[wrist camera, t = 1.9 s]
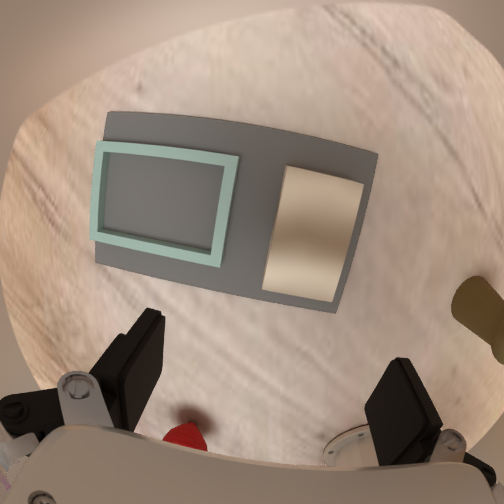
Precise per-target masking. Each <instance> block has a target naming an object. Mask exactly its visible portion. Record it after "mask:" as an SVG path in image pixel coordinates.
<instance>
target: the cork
mask: <svg viewBox="0 0 504 504" xmlns="http://www.w3.org/2000/svg"><path fill="white" fill-rule="evenodd" d="M451 308H452V314H453V317H454V318H455V319H456V320H457V321H458V322H460V323H461V324H463V325H464V326H465V327H467V328H468V329H469V330H471V331H472V332H473V333H475V334H476V335H477V336H479V337H480V338H481V339H483V340H484V341H485V342H487V343H488V344H489V345H491V349H492V353H493V355H494V357H495V358H496V359H497V361H498V362H499V363H501V364H503V365H504V300H503V299H502V298H501V297H500V296H499V294H498V293H497V292H496V291H495V290H494V289H493V288H492V287H491V286H490V285H489V283H488V282H487V281H486V280H485V279H484V278H482V277H480V276H473V277H471V278H469V279H467V280H466V281H465V282H463V283H462V284H461V286H460V287H459V288H458V290H457V291H456V293H455V295H454V297H453V301H452V305H451Z"/></svg>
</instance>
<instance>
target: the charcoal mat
mask: <svg viewBox="0 0 504 504" xmlns="http://www.w3.org/2000/svg"><path fill="white" fill-rule="evenodd" d="M103 141H111V142H125V143H138V144H149V145H159V146H168V147H176V148H185V149H192V150H200V151H207V152H214V153H220V154H227V155H233V156H239V157H240V161H239V166H238V172H237V177H236V183H235V189H234V195H233V200H232V206H231V212H230V218H229V224H228V230H227V236H226V242H225V249H224V255H223V261H222V265H221V267H220V268H219V267H214V266H209V265H204V264H199V263H194V262H190V261H185V260H180V259H176V258H171V257H166V256H162V255H157V254H152V253H148V252H143V251H139V250H134V249H130V248H125V247H121V246H116V245H112V244H107V243H103V242H99V241H95V263H99V264H103V265H107V266H111V267H115V268H119V269H123V270H127V271H131V272H135V273H139V274H143V275H147V276H151V277H155V278H160V279H164V280H168V281H173V282H177V283H181V284H186V285H190V286H195V287H199V288H204V289H209V290H213V291H218V292H223V293H228V294H232V295H237V296H242V297H247V298H252V299H257V300H263V301H268V302H273V303H278V304H284V305H289V306H295V307H300V308H306V309H312V310H318V311H323V312H329V313H335V314H336V311H337V308H338V305H339V302H340V299H341V296H342V293H343V290H344V287H345V284H346V280H347V277H348V274H349V271H350V267H351V264H352V260H353V257H354V253H355V250H356V246H357V243H358V239H359V235H360V232H361V228H362V224H363V220H364V216H365V212H366V208H367V204H368V200H369V196H370V191H371V187H372V182H373V178H374V173H375V168H376V164H377V159H378V154H376V153H373V152H370V151H366V150H363V149H359V148H356V147H352V146H348V145H345V144H341V143H337V142H333V141H329V140H325V139H321V138H317V137H312V136H308V135H303V134H299V133H294V132H289V131H284V130H279V129H274V128H268V127H263V126H257V125H251V124H245V123H238V122H231V121H224V120H217V119H209V118H200V117H190V116H180V115H168V114H153V113H132V112H107V118H106V124H105V130H104V137H103ZM286 165H287V166H292V167H297V168H301V169H306V170H310V171H315V172H319V173H323V174H328V175H332V176H336V177H340V178H344V179H348V180H352V181H355V182H358V183H361V184H364V187H363V191H362V195H361V200H360V204H359V208H358V212H357V216H356V220H355V224H354V228H353V232H352V236H351V239H350V243H349V247H348V250H347V254H346V258H345V261H344V265H343V268H342V271H341V275H340V278H339V281H338V285H337V288H336V291H335V294H334V298H333V301H332V302H327V301H321V300H316V299H310V298H305V297H299V296H294V295H288V294H283V293H278V292H273V291H267V290H262V284H263V275H264V269H265V264H266V259H267V255H268V250H269V245H270V240H271V235H272V230H273V226H274V221H275V216H276V211H277V206H278V201H279V196H280V191H281V186H282V181H283V176H284V171H285V166H286ZM224 168H225V166H220V165H214V164H208V163H201V162H194V161H187V160H179V159H172V158H164V157H155V156H146V155H137V154H127V153H116V152H109V160H108V169H107V179H106V191H105V204H104V223H103V229H106V230H111V231H116V232H121V233H126V234H130V235H135V236H140V237H145V238H150V239H155V240H160V241H165V242H170V243H175V244H179V245H184V246H189V247H194V248H199V249H204V250H209V251H211V250H212V243H213V236H214V229H215V223H216V216H217V210H218V204H219V198H220V192H221V186H222V180H223V174H224Z"/></svg>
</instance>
